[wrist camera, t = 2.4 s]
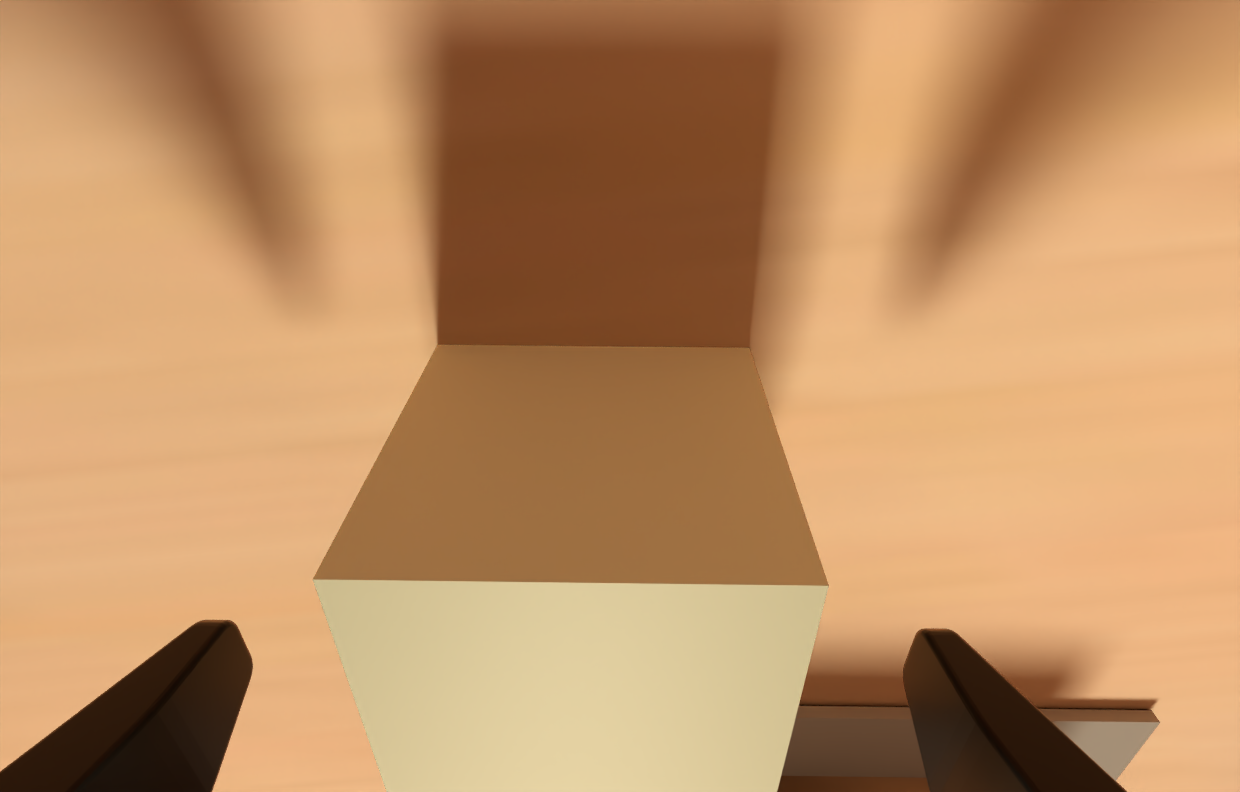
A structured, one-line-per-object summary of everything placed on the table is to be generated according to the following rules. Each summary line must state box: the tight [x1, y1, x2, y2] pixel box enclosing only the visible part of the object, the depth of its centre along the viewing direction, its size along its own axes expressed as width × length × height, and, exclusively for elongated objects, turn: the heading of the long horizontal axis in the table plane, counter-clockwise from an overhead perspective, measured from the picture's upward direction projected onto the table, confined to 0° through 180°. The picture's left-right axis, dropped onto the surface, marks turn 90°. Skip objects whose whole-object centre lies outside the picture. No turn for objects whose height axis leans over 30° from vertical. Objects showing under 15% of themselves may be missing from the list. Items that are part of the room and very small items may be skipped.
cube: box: [313, 345, 829, 792], centre depth 10 cm, size 5×5×5 cm
